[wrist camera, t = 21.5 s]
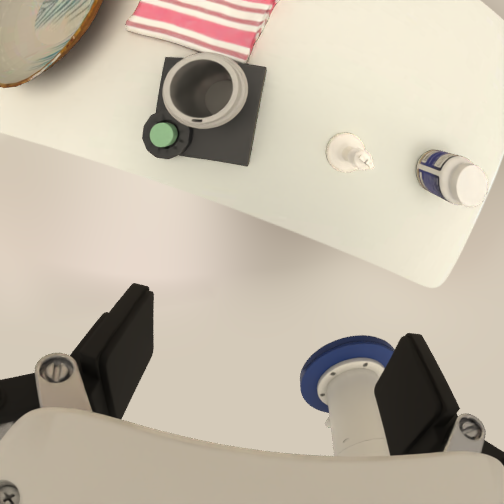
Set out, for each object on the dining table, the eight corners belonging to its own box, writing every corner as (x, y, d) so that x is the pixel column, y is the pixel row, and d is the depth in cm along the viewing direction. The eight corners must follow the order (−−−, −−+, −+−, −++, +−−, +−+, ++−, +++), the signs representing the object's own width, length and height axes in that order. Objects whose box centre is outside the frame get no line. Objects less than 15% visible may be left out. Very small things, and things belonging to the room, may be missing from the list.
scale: (248, 166, 37) (245, 171, 34) (151, 152, 37) (140, 155, 34) (266, 69, 32) (265, 64, 29) (165, 59, 32) (155, 54, 29)
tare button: (176, 147, 34) (171, 148, 32) (153, 144, 34) (148, 145, 32) (179, 123, 33) (174, 123, 31) (156, 121, 33) (151, 121, 31)
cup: (191, 124, 34) (153, 127, 23) (197, 70, 31) (162, 49, 20) (252, 129, 34) (241, 132, 23) (259, 74, 31) (251, 51, 20)
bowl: (53, -54, 22) (27, -67, 15) (168, -46, 26) (148, -72, 18) (-9, 71, 32) (-41, 72, 25) (84, 107, 35) (49, 109, 28)
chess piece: (341, 124, 34) (363, 125, 25) (372, 149, 35) (402, 159, 26) (318, 156, 36) (332, 167, 27) (349, 180, 37) (372, 199, 28)
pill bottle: (446, 194, 36) (485, 216, 27) (411, 187, 37) (447, 208, 27) (453, 154, 34) (495, 166, 25) (418, 144, 34) (457, 154, 25)
